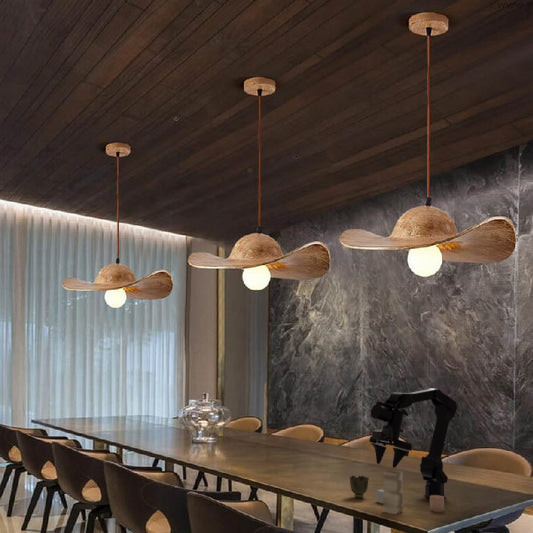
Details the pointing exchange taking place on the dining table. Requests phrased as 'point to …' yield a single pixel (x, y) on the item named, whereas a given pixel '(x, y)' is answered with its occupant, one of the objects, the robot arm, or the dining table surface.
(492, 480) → the dining table surface
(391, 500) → the birch block
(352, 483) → the cup
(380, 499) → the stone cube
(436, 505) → the pink cube
